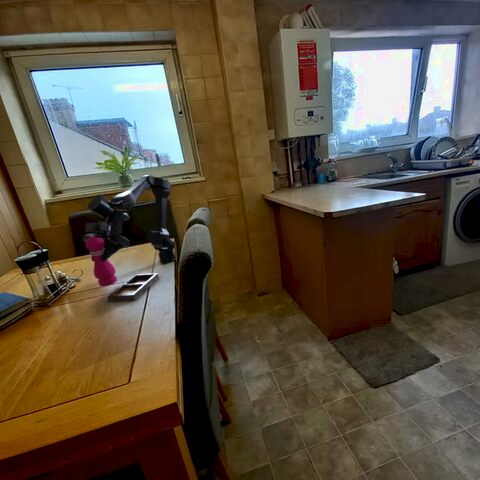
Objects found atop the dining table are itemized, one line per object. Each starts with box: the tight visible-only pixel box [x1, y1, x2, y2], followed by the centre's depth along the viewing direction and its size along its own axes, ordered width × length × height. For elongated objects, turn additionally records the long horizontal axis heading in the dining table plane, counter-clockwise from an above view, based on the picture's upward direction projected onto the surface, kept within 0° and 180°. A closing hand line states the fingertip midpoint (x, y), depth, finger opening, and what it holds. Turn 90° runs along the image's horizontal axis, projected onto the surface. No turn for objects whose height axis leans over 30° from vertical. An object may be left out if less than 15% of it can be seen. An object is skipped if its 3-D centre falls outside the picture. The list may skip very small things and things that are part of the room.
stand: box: [106, 272, 160, 303], centre depth 108 cm, size 10×19×2 cm, turn 175°
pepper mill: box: [85, 232, 118, 287], centre depth 103 cm, size 7×7×20 cm
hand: (97, 261), depth 102 cm, fingers closed on pepper mill, 5 cm apart
